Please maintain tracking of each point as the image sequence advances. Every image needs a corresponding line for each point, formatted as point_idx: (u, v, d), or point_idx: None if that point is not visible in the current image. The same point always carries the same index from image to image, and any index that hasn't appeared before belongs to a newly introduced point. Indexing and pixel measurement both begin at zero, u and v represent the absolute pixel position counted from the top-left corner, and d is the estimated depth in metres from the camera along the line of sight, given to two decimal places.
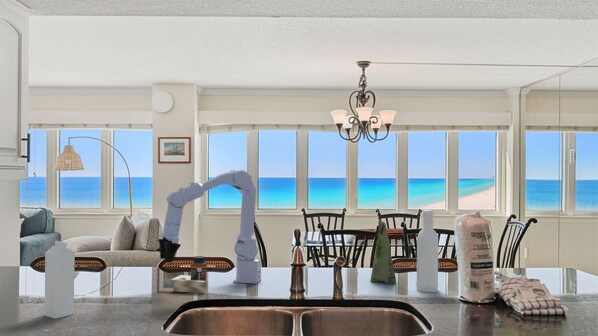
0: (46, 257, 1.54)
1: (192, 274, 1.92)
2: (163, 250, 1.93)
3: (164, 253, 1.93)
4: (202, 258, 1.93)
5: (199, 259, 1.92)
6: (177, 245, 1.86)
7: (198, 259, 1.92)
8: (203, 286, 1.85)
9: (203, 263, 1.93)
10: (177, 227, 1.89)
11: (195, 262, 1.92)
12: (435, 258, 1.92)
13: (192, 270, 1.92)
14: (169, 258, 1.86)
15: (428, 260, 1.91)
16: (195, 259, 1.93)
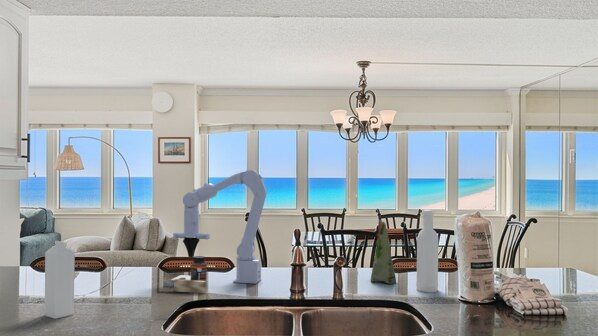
0: (46, 257, 1.54)
1: (192, 274, 1.92)
2: None
3: None
4: (202, 258, 1.93)
5: (199, 259, 1.92)
6: (198, 240, 2.06)
7: (198, 259, 1.92)
8: (203, 286, 1.85)
9: (203, 263, 1.93)
10: (198, 225, 2.06)
11: (195, 262, 1.92)
12: (435, 258, 1.92)
13: (192, 270, 1.92)
14: (193, 253, 2.05)
15: (428, 260, 1.91)
16: (195, 259, 1.93)
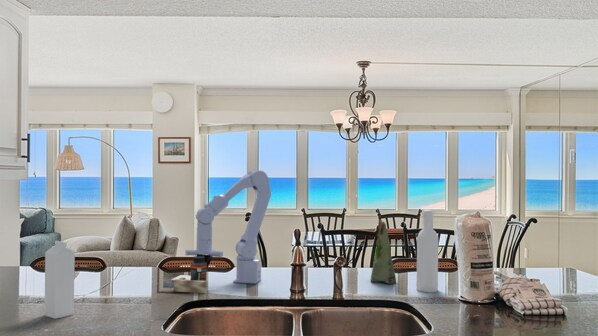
0: (46, 257, 1.54)
1: (192, 274, 1.92)
2: None
3: None
4: (202, 258, 1.93)
5: (199, 259, 1.92)
6: (211, 257, 2.00)
7: (198, 259, 1.92)
8: (203, 286, 1.85)
9: (203, 263, 1.93)
10: (211, 242, 2.00)
11: (195, 262, 1.92)
12: (435, 258, 1.92)
13: (192, 270, 1.92)
14: None
15: (428, 260, 1.91)
16: (195, 259, 1.92)
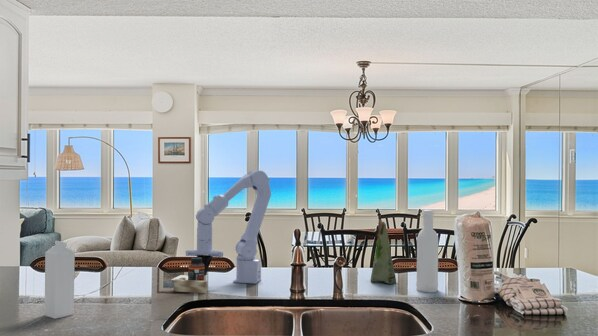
0: (46, 257, 1.54)
1: (190, 275, 1.89)
2: None
3: None
4: (200, 259, 1.91)
5: (196, 260, 1.90)
6: (211, 258, 2.00)
7: (195, 260, 1.90)
8: (203, 286, 1.85)
9: (201, 264, 1.90)
10: None
11: (192, 263, 1.90)
12: (435, 258, 1.92)
13: (189, 271, 1.90)
14: (206, 271, 1.99)
15: (428, 260, 1.91)
16: (193, 260, 1.90)
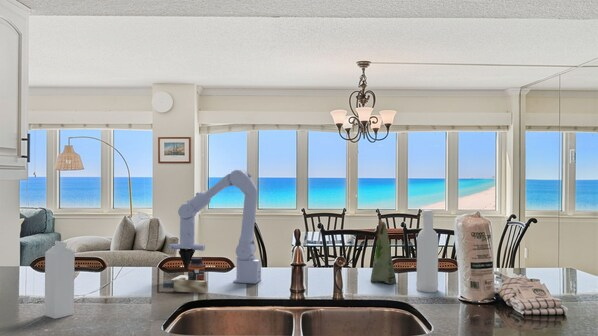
0: (46, 257, 1.54)
1: (190, 275, 1.89)
2: None
3: None
4: (199, 259, 1.91)
5: (196, 260, 1.90)
6: (194, 251, 2.09)
7: (195, 260, 1.90)
8: (203, 286, 1.85)
9: (200, 264, 1.90)
10: None
11: (192, 263, 1.90)
12: (435, 258, 1.92)
13: (189, 271, 1.90)
14: (188, 264, 2.08)
15: (428, 260, 1.91)
16: (193, 260, 1.90)
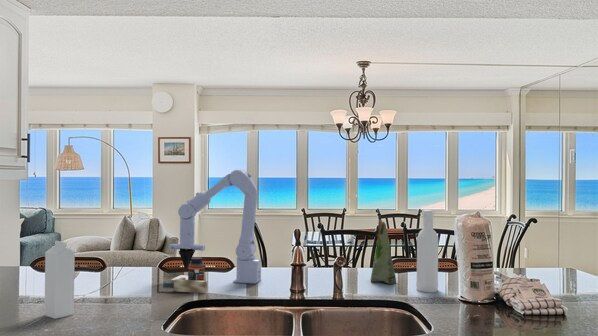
0: (46, 257, 1.54)
1: (190, 275, 1.89)
2: None
3: None
4: (199, 259, 1.91)
5: (196, 260, 1.90)
6: (194, 251, 2.09)
7: (195, 260, 1.90)
8: (203, 286, 1.85)
9: (200, 264, 1.90)
10: None
11: (192, 263, 1.90)
12: (435, 258, 1.92)
13: (189, 271, 1.90)
14: (188, 264, 2.08)
15: (428, 260, 1.91)
16: (193, 260, 1.90)
